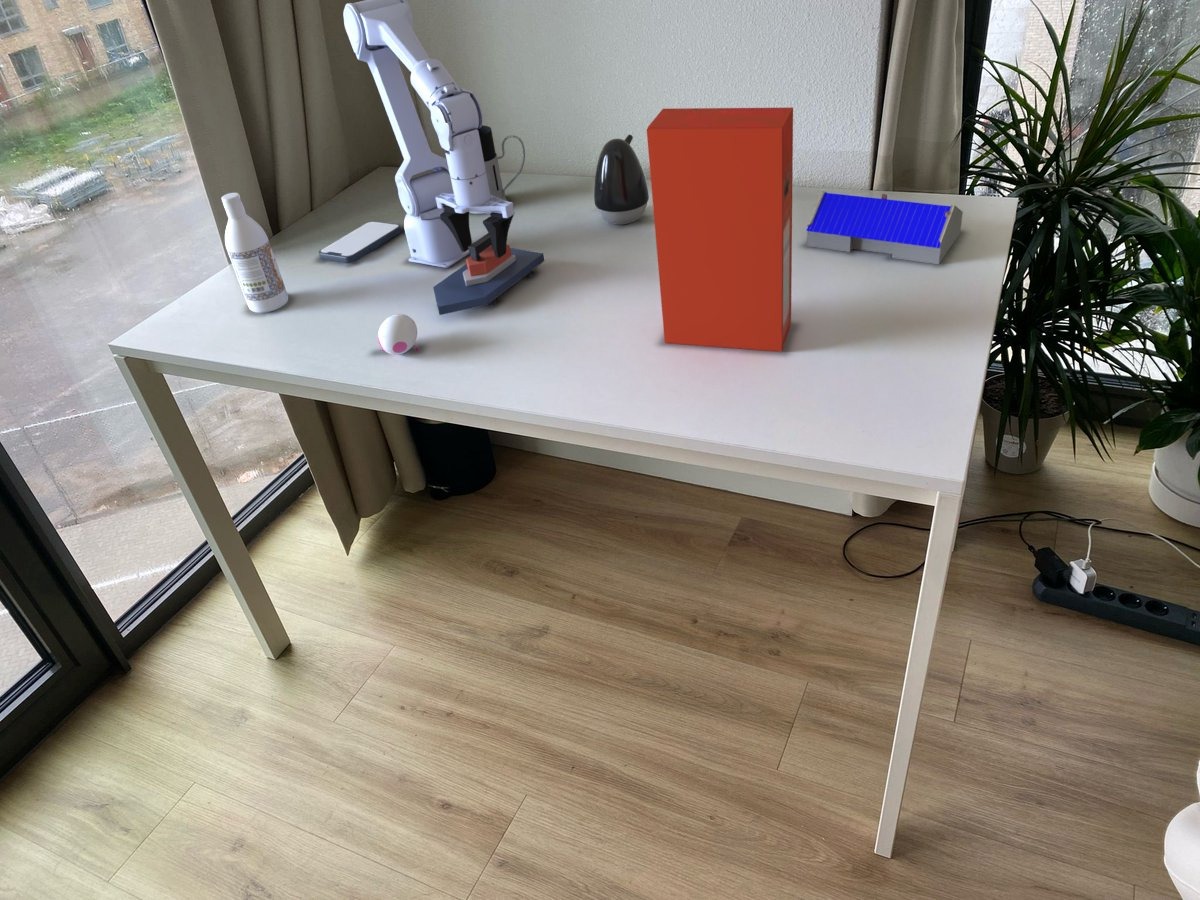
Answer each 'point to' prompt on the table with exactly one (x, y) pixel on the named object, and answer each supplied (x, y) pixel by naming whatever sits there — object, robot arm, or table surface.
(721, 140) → the file binder
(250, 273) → the bath foam
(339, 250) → the smartphone with white screen
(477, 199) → the robot arm
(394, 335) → the stress ball
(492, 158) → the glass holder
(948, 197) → the table surface
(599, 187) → the black egg-shaped figure
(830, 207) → the blue roofed model house
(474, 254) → the iron
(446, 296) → the ironing board
